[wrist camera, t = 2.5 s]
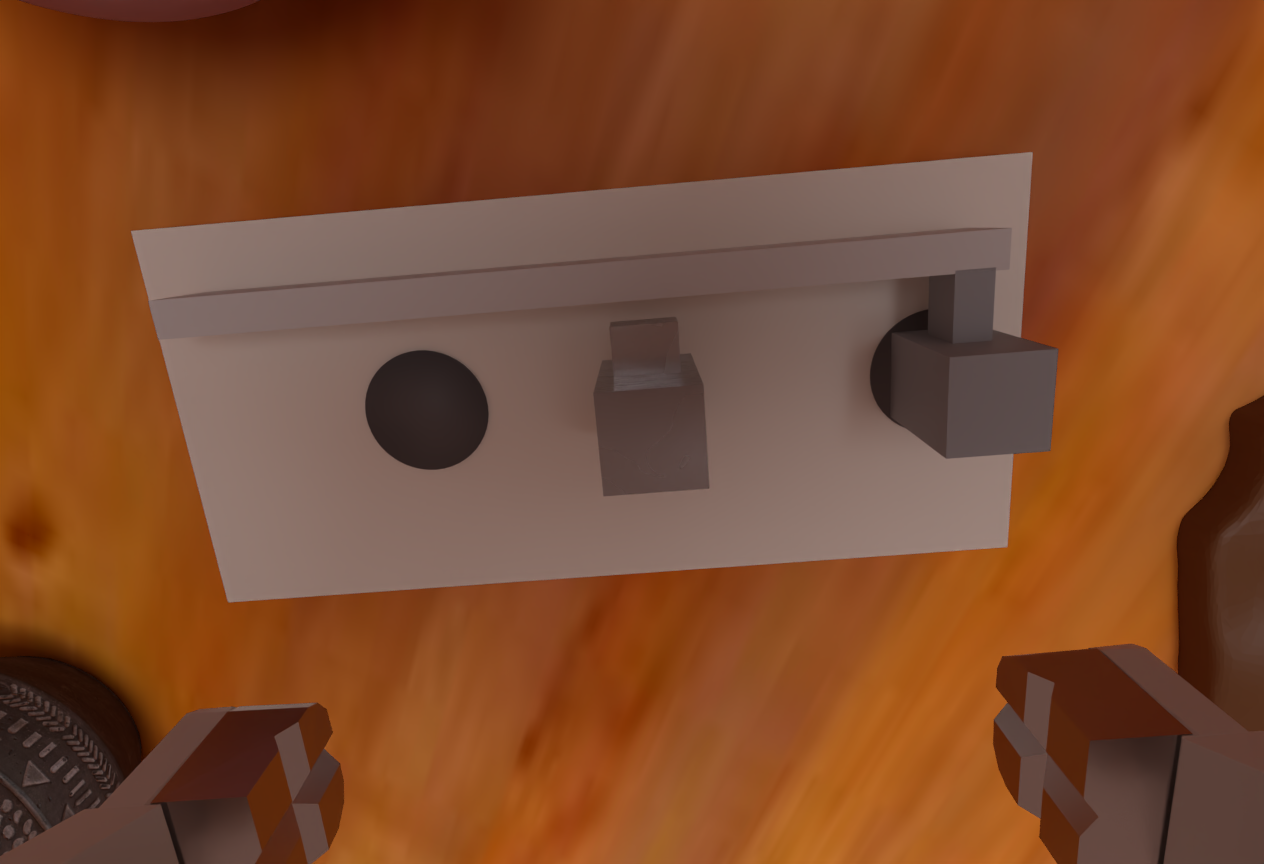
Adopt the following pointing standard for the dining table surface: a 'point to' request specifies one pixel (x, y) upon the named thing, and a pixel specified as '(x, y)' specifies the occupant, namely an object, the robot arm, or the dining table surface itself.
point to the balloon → (143, 8)
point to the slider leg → (650, 412)
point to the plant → (1227, 579)
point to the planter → (57, 745)
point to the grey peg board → (569, 366)
